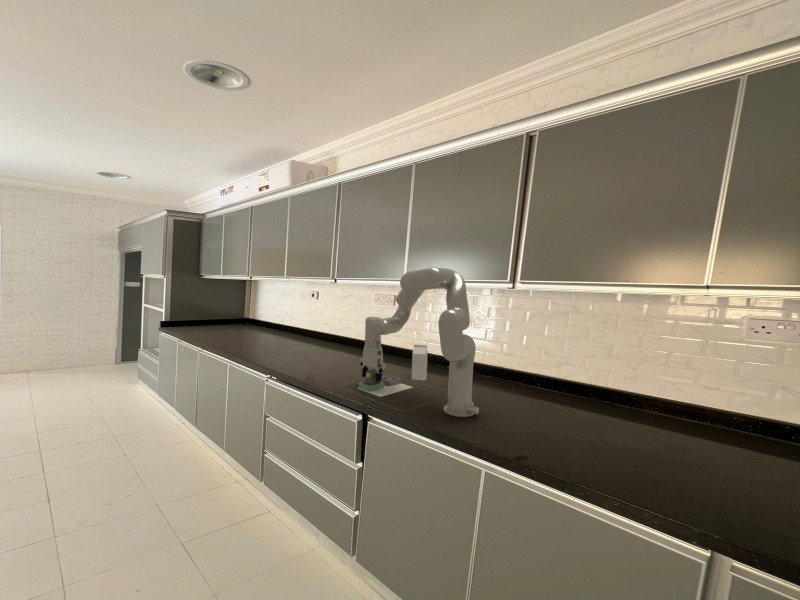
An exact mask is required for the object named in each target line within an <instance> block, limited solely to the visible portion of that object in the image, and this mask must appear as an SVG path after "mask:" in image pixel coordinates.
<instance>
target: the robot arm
mask: <svg viewBox="0 0 800 600" xmlns="http://www.w3.org/2000/svg"><path fill="white" fill-rule="evenodd" d="M399 284H400V288H401V289H400V291H399V292H398V294H397V295H396V297H395V302H396V303H397V304H398V307H397V309H396V311H395V312H394V314H393V315H392V316H391V317H384V318H381V317H379V316H368V317H366V318H365V326H364V327H365V328H364V331H365V332H364V346H363V351H362V357H360V358H359V359H358V360H359V364H360V366H361V369H362V370H361V377H362V378H366V371H369V368H372V369H376V371H377V373H376V382H378V381H381V380H382V377H383V375H382V374H383V373H384V371H385V369H386V368H387V367H386V366H387V364H385V362H384V356H383V355H384V353H383V347H382V336H387V335H390V334H395V333H398V332H400V331H401V330H402V328H404V326H405V325H406V323H407V322H408V321H409V319H410V316H411V313H412V308H413V307H414V305H416V303H417V301H419V299H420V297H421V296H422V295H423V293H424V292H425V291H428V290H436V289H437V290H438V289H439V290H440V289H443V290H446V296H445V297H446V298H445V301H446V310H444V311H443V312H441V314H440V315H439V318H438V322H437V323H438V335H439V345H440V350H441V351H440V352H441V354H442V356H443V358H445V360H446V361H449V365H448V366H449V367H448V368H449V369H448V384H447V385H448V387H447V404H444V406H443V412H444V413H445V414H447V415H449V416H452V417H457V418H467V417H472V416H474V415H478V414H479V412H480V407H478V406H474V402H475V401H472V397H473V396H472V395H473V377H474V376H473V375H474V363H475V356H476V342H475V340H474V339H473V338H472V337H471V336H470V335H468V334H464V333H463V331H465V330H467V329H468V328H469V327H470V324H471V317H470V310H469V302H468V296H467V295H468V293H467V285H466V282H465V279H464V278H463V276H462V274H460V273H459V272H458V271H455V270H453V269H450V268H444V267H429V268H428V267H427V268H422V269H418V270H412V271H407V272H405V273H404V274H403V275H402V276H401V278H400V280H399Z"/></svg>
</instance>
